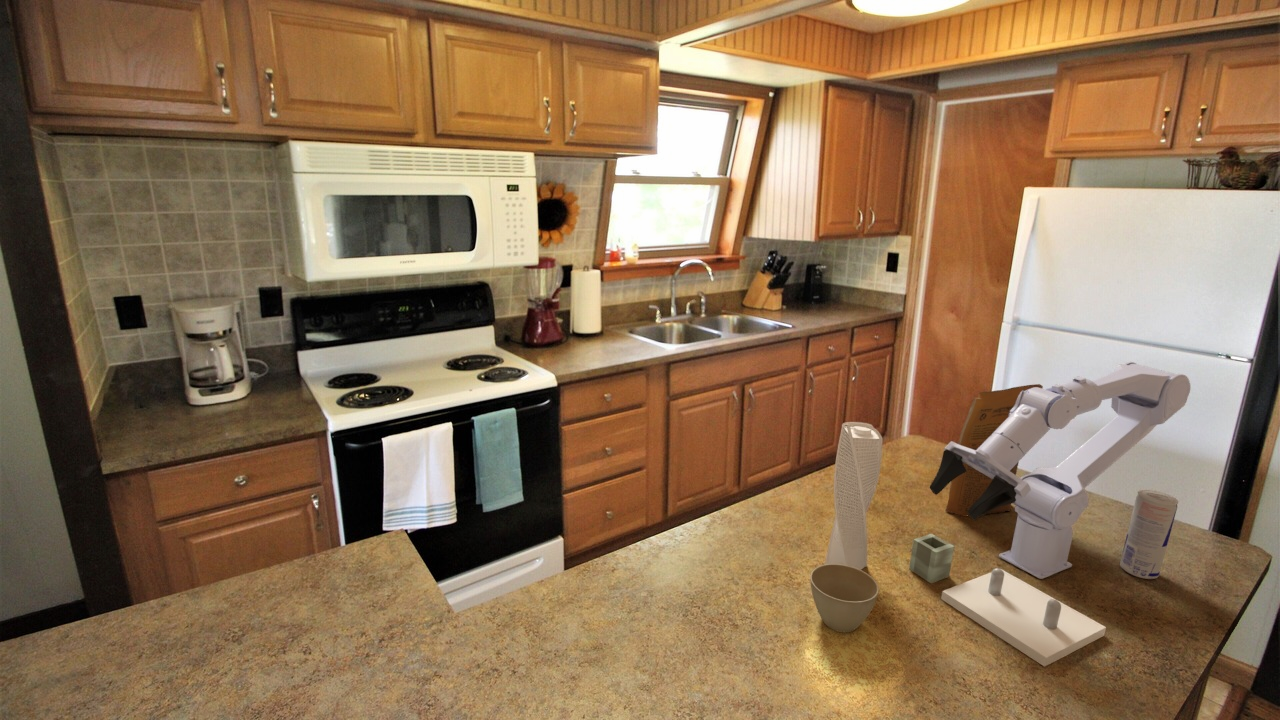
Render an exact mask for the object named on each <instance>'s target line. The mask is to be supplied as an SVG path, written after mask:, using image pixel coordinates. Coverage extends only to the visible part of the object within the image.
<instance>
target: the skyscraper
mask: <svg viewBox="0 0 1280 720" xmlns="http://www.w3.org/2000/svg"><path fill="white" fill-rule="evenodd" d="M882 457H883V437H882V434H881V433H880V432H879V430H878V429H876V428H875V426H873V424H871V423H867V422H861V421H847V422H843V423H842V424H841V430H840V434H839V440H838V443H837V450H836V458H835V462H834V463H835V464H834V475H833V503H834V513H835V517H834V520H833V525H832V529H831V534H830V537H829V542H828V545H827V551H826V556H825V561H824V565H825V564H842V565H848V566H852V567H855V568H858V569H860V570H863V569H864V568H867V567H868V526H867V525H868V524H867V513H868V509H869V507H870V505H871V503H872V501H873V497H874V495H875V492H876V490H877V485H878V482H879V477H880V473H881V468H882Z"/></svg>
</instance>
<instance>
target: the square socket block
mask: <svg viewBox="0 0 1280 720" xmlns="http://www.w3.org/2000/svg"><path fill="white" fill-rule="evenodd" d="M954 549H955V545H953V544H951V543H949V542H947V541H946V540H944V539H943V538H940V537H939V536H937V535H934V533H928V534H927V535H926V534H925V535H923V536H921V537H917V538H914V539H913V541H912V548H911V553H910V554H911V556H910V561H909V568H908V569H909V571H911V572H912V573H914V574H916V575H917V576H919V577H921V579H924V581H926V582H928V583H929V584H933V583H936V582H939V581H942V580H943V579H944V580H945V579H947V578H949V577H950V573H951V568H952V563H953V555H954V551H955V550H954Z"/></svg>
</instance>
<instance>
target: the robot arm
mask: <svg viewBox="0 0 1280 720" xmlns="http://www.w3.org/2000/svg"><path fill="white" fill-rule="evenodd" d="M1190 393H1191V383H1190V379H1189V377H1188V376H1187V375H1185V374H1183V373H1174V372H1170V371H1165V370H1162V369H1159V368H1155V367H1149V366H1145V365H1141V364H1139V363H1137V362H1134V361H1128V362H1127V361H1126V362H1125V363H1121V364H1118V365H1117V366H1116V367H1115V369H1114V371H1113V372H1110V373H1108V374H1106V375H1103V376H1101V377H1098V378H1096V379H1094V380H1090V379H1088V378H1085V377H1082V376H1076V377H1073V378H1072V380H1069V381H1067V382H1063V383H1061V384H1060V383H1059V384H1053V385H1051V386H1050V387H1047V388H1045V389H1044V388H1043V389H1042V388H1039V387H1034V388H1031V389H1027V390H1026V391H1022V392H1021V393H1020V394H1019V396H1018V398H1017V400H1016V404H1015V406H1014V407H1013V408H1012V409H1011V410H1010V413H1009V417H1008V418H1007V419H1006V420H1005V421H1004V422H1003V423H1002V424H1001V425H1000V426H999V427H998V428H997V429H996V430H995V431H994V432H993V433H992V435H991V436H990V437H989V438H988V439H987V440H986V441H985V442H984V443H983V444H982V445H981V446H980V447H979V448H978V449H977V450H973V449H970V448H967V447H964V446H962V445H959V444H958V443H956V442H955V441H952V440H951V441H950V442H948V444H947V445H946V446H945V447H944V448H943V449H944V451H943V453H942V457H941V458H942V459H941V462H940V465H939V468H938V471H937V473H936V474H935V476H934V479H933V480H932V482H931V484H930V486H929V489H930V491H931V492H932V493H933V494H934V495H935V496H937V495H938V494H939V493H941V492H942V491H943V490H944V489H945V488H947V486H948V485H949V484H951V481H952V480H954V479H955V478H956V477H958V476H959V475H961V474H963V473H965V472H966V469H965V467H964V465H963V463H966V464H967V465H969V466H971V467H972V468H974V469H976V470H978V471H979V472H981V473H983V474H985V475H986V476H988V477H990V478H992V479H993V480H992V482H991V483H990V485H989V486H988V488H987V489H986V491H985V492H984V493H983V495H982V496H981V497H980V498H979V499H978V500H977V501H976V502H975V503H974V504H973V505H972V506H971V507H970V509H969V510H968V513H969V515H970V516H969V517H970V518H971V519H972V520H975V521H976V520H977V519H978V518H980V517H982V516H983V515H986V514H985V513H987V512H989V511H991V510H993V509H995V508H998V507H1000V506H1004V505H1007V504H1011V505H1012V504H1013V506H1014V512H1016V513H1017V518H1016V523H1015V528H1014V533H1013V539H1012V543H1011V548H1010V549H1009V550H1006V551H1004V552H1001V553H998V556H999V558H1000V559H1002V560H1004V561H1006V562H1008V563H1010V564H1012V565H1013V566H1015V567H1017V568H1019V569H1021V570H1023V571H1025V572H1027V573H1029V574H1031V575H1032V576H1034V577H1036V578H1038V579H1039V580H1042V579H1045V578H1047V577H1050V576H1053V575H1055V574H1058V573H1059V572H1061V571H1064V570H1066V569H1069V568H1072V566H1073V564H1072V563H1071V562H1069V561H1068V559H1069V555H1070V550H1071V546H1072V540H1073V537H1074V530H1073V526H1074V525H1075V524H1076V523H1077V522H1078V521H1079V519H1080V517H1081V515H1082V514H1083V512H1084V511H1085V510H1086V509H1087V508H1089V502H1090V501H1089V499H1090V498H1089V495H1088V493H1087V491H1086V488H1087V487H1088V486H1089V485H1090V484H1092V483H1093V482H1094V481H1095V480H1096V479H1097V478H1098V477H1099V476H1101V475H1102V474H1103V473H1104V472H1105V471H1107V470H1108V469H1109V468H1111V466H1113V465H1114V464H1115V463H1116V462H1117V461H1118V460H1120V459H1121V458H1122V457H1124V455H1125V454H1127V453H1128V452H1129V451H1130V450H1131V449H1132V448H1134V447H1135V445H1137V444H1139V442H1141V440H1143V439H1144V438H1145V437H1146V436H1148V435H1149V434H1150V433H1151V431H1153V430H1154V429H1155V427H1157V426H1158V425H1163V424H1164V423H1166V422H1167V421H1168V420H1169V419H1170V418H1172V417H1173V416H1174V415H1175V414H1177V413H1178V412H1179V411H1180V410H1181V409H1182V408H1183V407H1184V406H1186V403H1187V401H1188V398H1189V396H1190ZM1109 399H1111V406H1110V407H1111V408H1112V410H1113V411H1114V412H1115V413H1116V414H1117V415H1116V416H1115V417H1114V418H1113V419H1112V420H1110V421H1109V422H1107V424H1106V425H1104V426H1103V427H1102V428H1101V429H1100V430H1098V431H1097V432H1096V433H1095V434H1093V436H1091V437H1090V438H1089V439H1088V440H1087V441H1086V442H1085V443H1083V444H1082V445H1080V447H1079V448H1077V449H1076V450H1075V451H1073V453H1071V454H1070V455H1069V456H1068V457H1066V458H1065V459H1064V460H1063V461H1062V462H1061V463H1059V464H1058V465H1057V466H1053V467H1037V468H1035V469H1034V470H1033V471H1032V472H1030V473H1027V474H1024V475H1022V476H1020V477H1019V476H1017V474H1016V475H1014V474H1013V473H1012V472H1010V470H1011V469H1012V468H1013V467H1014V466H1015V465H1016V464H1017V463H1018V462H1020V461H1021V460H1022V459H1023V458H1024V457H1025V455H1027V454H1028V453H1029V451H1031V449H1033V447H1034V446H1035V445H1037V443H1038V442H1040V441H1041V439H1042V438H1043V437H1044V436H1045V435H1047V433H1048V432H1049V431H1050V430H1051V429H1054V430H1062V429H1064V428H1065V427H1067V425H1068V424H1069V423H1070V422H1071V421H1072V420H1073V419H1075V417H1077V416H1079V415H1083V414H1085V413H1088V412H1092V411H1094V410H1097V409H1098V408H1099V407H1100V406H1101V404H1102V402H1103V401H1106V400H1109ZM1018 464H1019V463H1018Z"/></svg>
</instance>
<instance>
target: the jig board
mask: <svg viewBox="0 0 1280 720" xmlns="http://www.w3.org/2000/svg"><path fill="white" fill-rule="evenodd" d="M940 599H941V600H942V601H943V602H945V603H946V604H948V605H949V606H951V607H953V608H954V609H956V610H958V612H960V613H962V614H964V616H966V617H967V618H969V619H971V620H972V621H974V622H976V623H977V624H979V626H982V627H983V628H985V629H986V630H987V631H989V632H991V633H992V634H994V635H996V636H997V637H998V638H1000V639H1001V640H1002V641H1004V642H1006V643H1007V644H1009V645H1011V647H1014V648H1015V649H1017V650H1019V651H1020V652H1022V653H1023V654H1025V656H1028V657H1029V658H1031V659H1032V660H1033V661H1035V662H1037V663H1039V664H1040V665H1042V666H1043V667H1047V666H1048V665H1050V664H1052V663H1055V662H1056V661H1058V660H1060V659H1062V658H1064V657H1066V656H1068V655H1070V654H1072V653H1073V652H1076V651H1077V650H1079V649H1081V648H1084V647H1086V646H1087V645H1089V644H1091V643H1093V642H1095V641H1096V640H1098V639H1099V640H1100V639H1101V638H1102V637H1104V636H1105V635H1106V634H1105V633H1106V629H1107V627H1106V626H1105V625H1103V624H1101V623H1099V622H1097V621H1096V620H1094V619H1092V618H1091V617H1089V616H1087V615H1085V614H1083V613H1081V612H1079V611H1077V610H1075V609H1074V608H1073V607H1070V606H1069V605H1066V603H1065V604H1064V603H1063V602H1062V601H1059V600H1057V599H1055V598H1054V597H1052V596H1050V595H1048V594H1047V593H1045V592H1043V591H1041V590H1040V589H1038V588H1036V587H1034V586H1033V585H1030V584H1029V583H1027V582H1025V581H1024V580H1022V579H1020V578H1018V577H1016V576H1015V575H1013V574H1011V573H1009V572H1007V571H1005V570H1004V569H1002V568H998V567H996V568H993V569H992V570H991V572H988V573H985V574H983V575H981V576H978V577H976V578H972V579H970V580H968V581H964V582H963V583H959V584H957V585H955V586H952V587H950V588H947V589H944V590H942V591H941V598H940Z"/></svg>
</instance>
